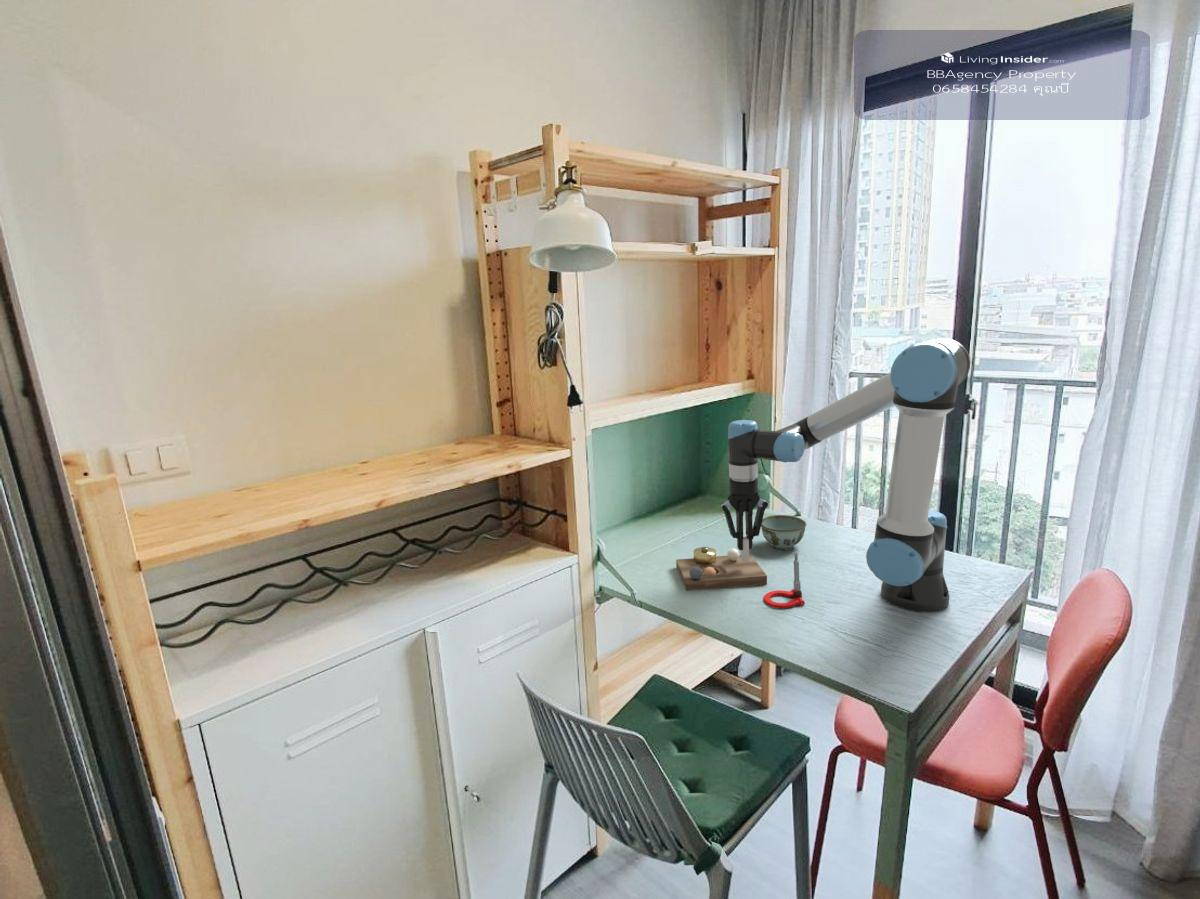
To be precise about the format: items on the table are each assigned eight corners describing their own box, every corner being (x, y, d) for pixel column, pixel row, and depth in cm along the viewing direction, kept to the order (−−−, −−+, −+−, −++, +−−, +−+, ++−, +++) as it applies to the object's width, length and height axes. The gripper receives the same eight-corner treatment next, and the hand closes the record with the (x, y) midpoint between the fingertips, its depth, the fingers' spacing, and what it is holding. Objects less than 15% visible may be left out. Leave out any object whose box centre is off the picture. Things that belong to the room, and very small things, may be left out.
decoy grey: (703, 581, 161) (703, 568, 161) (690, 582, 161) (690, 569, 160) (701, 575, 165) (700, 563, 164) (688, 576, 165) (688, 564, 164)
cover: (718, 563, 171) (718, 551, 170) (696, 564, 171) (696, 553, 170) (713, 554, 177) (713, 543, 177) (691, 555, 177) (691, 544, 176)
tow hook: (769, 611, 150) (806, 607, 150) (767, 563, 147) (805, 559, 147) (760, 596, 158) (795, 592, 158) (757, 550, 155) (793, 546, 155)
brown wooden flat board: (766, 584, 163) (766, 575, 162) (686, 590, 162) (686, 581, 161) (750, 561, 177) (750, 554, 177) (676, 567, 177) (676, 559, 176)
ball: (701, 577, 166) (712, 583, 166) (708, 567, 165) (719, 573, 166) (699, 573, 169) (710, 579, 170) (706, 562, 169) (717, 568, 169)
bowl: (795, 536, 194) (796, 513, 192) (813, 553, 181) (813, 528, 179) (754, 540, 193) (754, 516, 192) (768, 556, 180) (768, 531, 178)
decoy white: (741, 562, 172) (741, 550, 171) (729, 563, 171) (728, 551, 171) (737, 557, 175) (737, 546, 174) (725, 558, 175) (725, 547, 174)
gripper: (762, 472, 166) (763, 553, 171) (715, 476, 165) (718, 557, 170) (772, 479, 158) (772, 563, 163) (723, 483, 158) (725, 567, 163)
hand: (745, 560), depth 167 cm, fingers closed
